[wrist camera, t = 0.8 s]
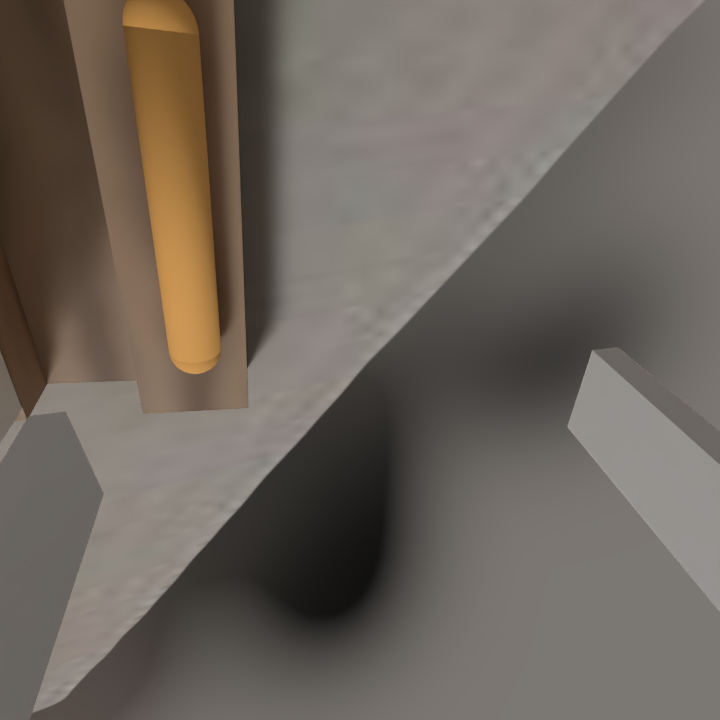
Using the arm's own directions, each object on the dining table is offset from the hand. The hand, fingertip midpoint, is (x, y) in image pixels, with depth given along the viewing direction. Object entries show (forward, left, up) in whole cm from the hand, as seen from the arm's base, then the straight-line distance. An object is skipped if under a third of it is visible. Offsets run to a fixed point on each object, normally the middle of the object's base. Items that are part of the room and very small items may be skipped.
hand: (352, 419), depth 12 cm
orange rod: (-6, 0, -18) cm, 19 cm away
